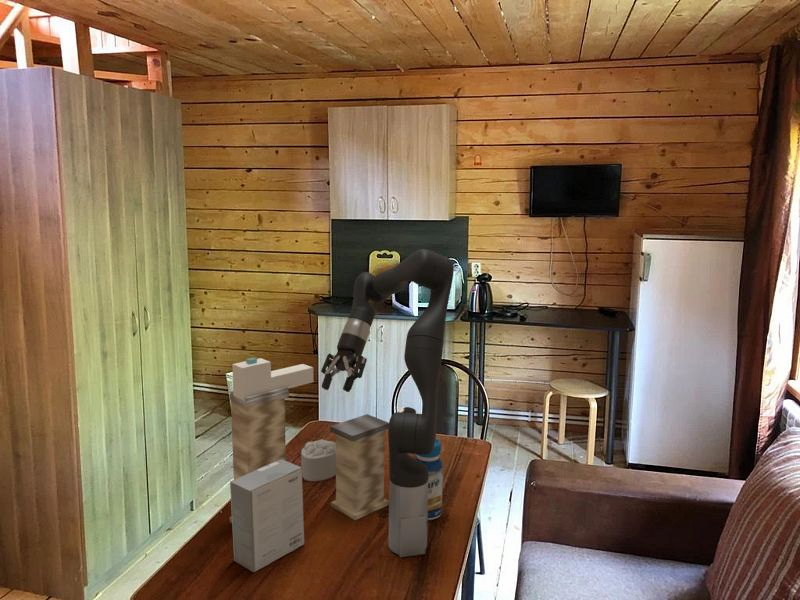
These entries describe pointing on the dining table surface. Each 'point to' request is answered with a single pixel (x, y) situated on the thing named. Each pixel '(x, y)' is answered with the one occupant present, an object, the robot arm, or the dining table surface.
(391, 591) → the dining table surface
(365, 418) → the lower stand
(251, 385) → the breaker module
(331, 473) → the lumpy-topped squat cylinder
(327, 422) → the dining table surface
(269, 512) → the hard drive box
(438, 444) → the beverage bottle
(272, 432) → the stand
